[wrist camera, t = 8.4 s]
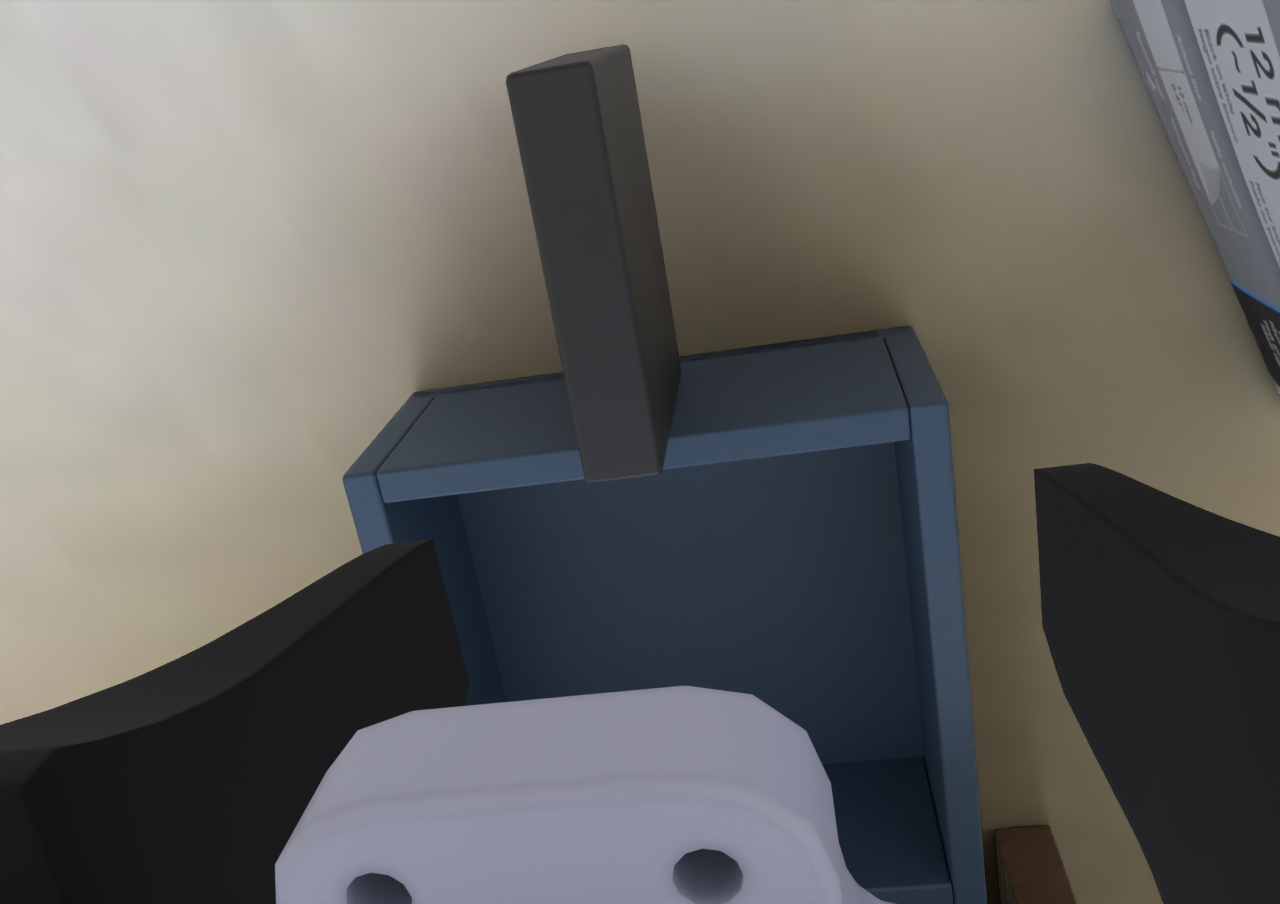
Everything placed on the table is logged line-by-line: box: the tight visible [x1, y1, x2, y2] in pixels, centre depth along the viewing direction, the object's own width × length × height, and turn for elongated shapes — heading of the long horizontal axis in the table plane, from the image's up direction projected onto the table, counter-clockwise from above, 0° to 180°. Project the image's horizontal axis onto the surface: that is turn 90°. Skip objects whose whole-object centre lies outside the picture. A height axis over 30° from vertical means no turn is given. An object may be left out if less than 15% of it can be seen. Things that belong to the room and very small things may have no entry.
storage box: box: [343, 45, 987, 904], centre depth 21 cm, size 10×16×6 cm, turn 10°
